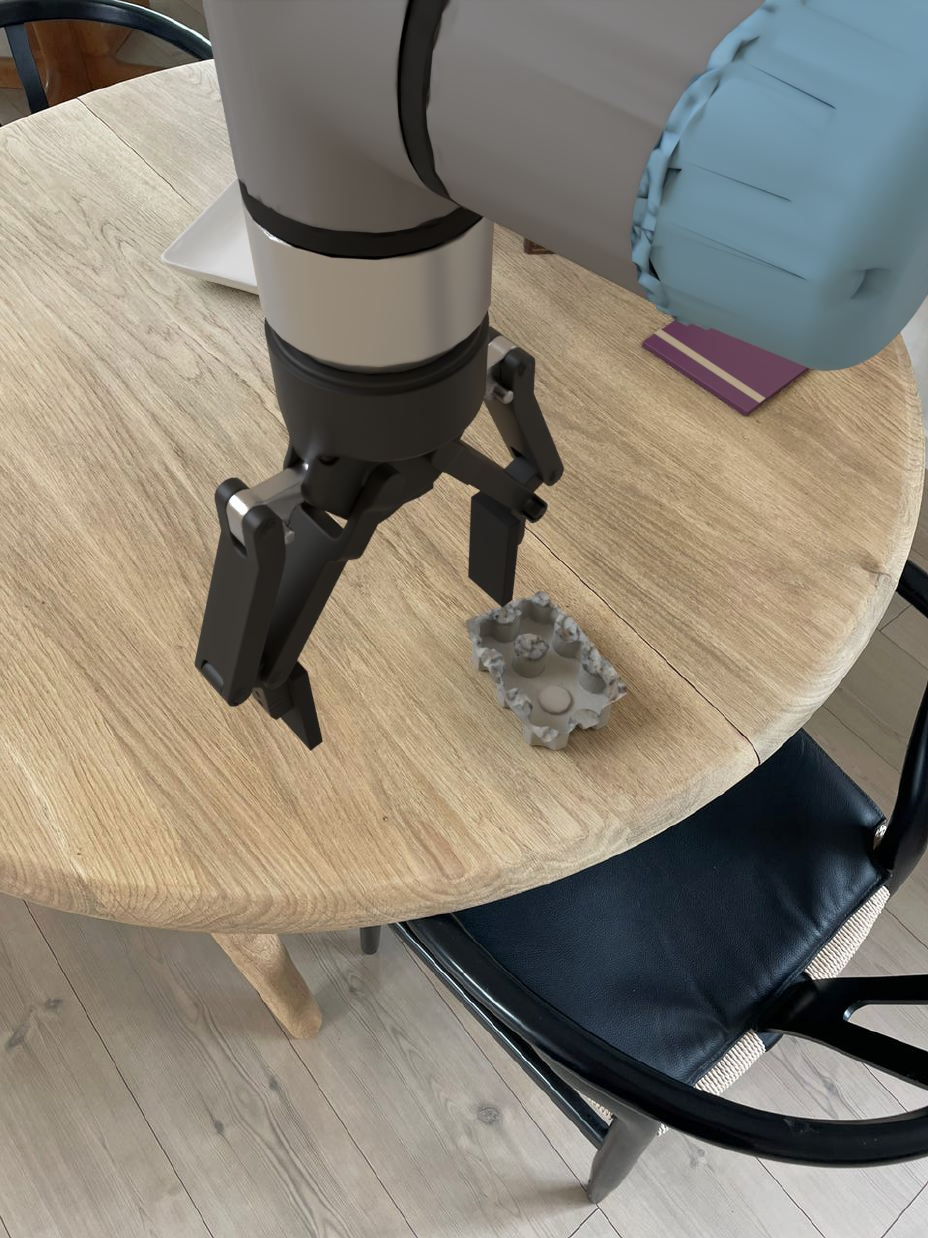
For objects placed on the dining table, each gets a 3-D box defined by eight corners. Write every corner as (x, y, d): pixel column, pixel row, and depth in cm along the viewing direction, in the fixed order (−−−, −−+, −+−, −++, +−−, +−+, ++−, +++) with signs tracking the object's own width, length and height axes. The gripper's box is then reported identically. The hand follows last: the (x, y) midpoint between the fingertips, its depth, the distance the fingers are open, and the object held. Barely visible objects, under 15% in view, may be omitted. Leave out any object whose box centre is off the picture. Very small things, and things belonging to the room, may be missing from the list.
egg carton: (626, 723, 66) (636, 693, 63) (529, 767, 64) (534, 739, 61) (548, 607, 72) (554, 573, 68) (457, 644, 70) (458, 612, 66)
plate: (456, 219, 99) (457, 188, 96) (369, 349, 87) (367, 317, 84) (269, 172, 103) (265, 141, 100) (163, 290, 91) (154, 258, 88)
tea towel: (828, 355, 88) (831, 349, 87) (745, 417, 83) (748, 410, 83) (725, 291, 93) (726, 285, 92) (641, 346, 88) (642, 340, 88)
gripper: (554, 128, 38) (518, 495, 56) (-21, 413, 29) (155, 746, 47) (701, 213, 35) (614, 573, 53) (111, 563, 26) (246, 859, 44)
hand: (399, 655), depth 50 cm, fingers open, 12 cm apart
